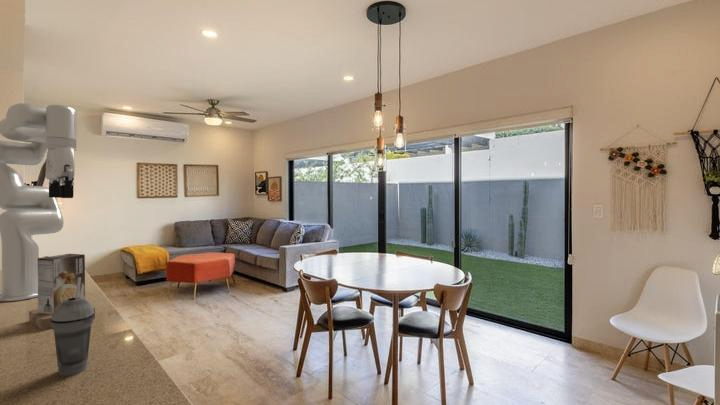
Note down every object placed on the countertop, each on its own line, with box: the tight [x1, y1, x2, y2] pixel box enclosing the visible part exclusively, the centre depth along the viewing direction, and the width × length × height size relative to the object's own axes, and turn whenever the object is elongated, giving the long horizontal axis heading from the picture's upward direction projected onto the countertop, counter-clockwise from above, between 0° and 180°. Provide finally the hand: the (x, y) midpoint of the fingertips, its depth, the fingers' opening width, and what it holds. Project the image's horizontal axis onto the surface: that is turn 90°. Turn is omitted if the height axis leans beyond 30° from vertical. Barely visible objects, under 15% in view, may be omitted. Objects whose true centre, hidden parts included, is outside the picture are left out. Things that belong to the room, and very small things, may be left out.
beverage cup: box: [51, 277, 96, 377], centre depth 74 cm, size 7×7×20 cm
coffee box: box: [37, 253, 86, 315], centre depth 104 cm, size 9×6×16 cm
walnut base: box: [28, 307, 96, 331], centre depth 104 cm, size 12×12×3 cm
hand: (60, 197), depth 112 cm, fingers open, 9 cm apart
